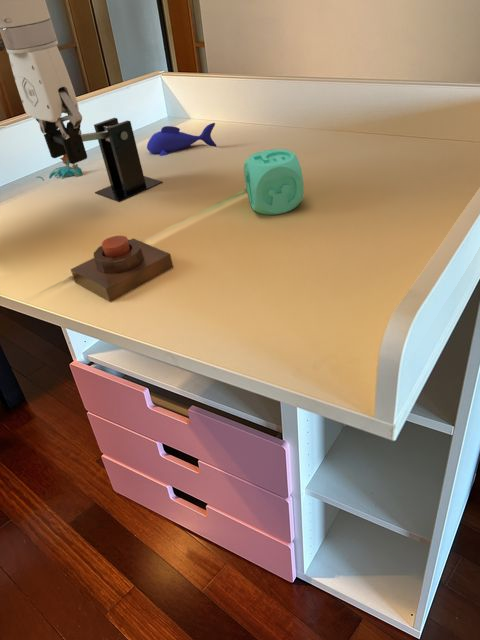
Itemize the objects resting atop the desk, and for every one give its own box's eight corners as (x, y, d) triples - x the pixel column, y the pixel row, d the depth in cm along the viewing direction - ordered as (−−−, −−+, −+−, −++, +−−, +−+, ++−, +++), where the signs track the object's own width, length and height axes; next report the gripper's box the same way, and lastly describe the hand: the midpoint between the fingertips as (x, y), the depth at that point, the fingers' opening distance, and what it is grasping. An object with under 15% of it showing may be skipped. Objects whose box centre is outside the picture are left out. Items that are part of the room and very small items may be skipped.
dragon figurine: (46, 188, 109) (77, 161, 110) (26, 167, 112) (57, 141, 113) (62, 206, 115) (92, 181, 116) (44, 186, 118) (73, 162, 119)
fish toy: (151, 169, 119) (143, 141, 113) (148, 146, 123) (140, 119, 117) (221, 157, 120) (217, 129, 114) (215, 135, 124) (211, 107, 118)
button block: (110, 302, 75) (101, 276, 73) (75, 282, 81) (66, 258, 78) (173, 267, 81) (167, 242, 79) (136, 251, 86) (130, 227, 84)
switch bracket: (120, 207, 101) (100, 134, 93) (96, 198, 105) (75, 128, 97) (164, 187, 106) (148, 117, 98) (139, 179, 111) (122, 112, 103)
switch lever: (67, 151, 91) (65, 135, 90) (52, 146, 94) (49, 131, 93) (130, 141, 99) (128, 127, 98) (114, 137, 102) (112, 123, 101)
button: (114, 261, 77) (110, 250, 76) (100, 254, 79) (96, 243, 78) (135, 250, 78) (132, 239, 77) (121, 244, 81) (117, 233, 80)
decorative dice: (247, 200, 97) (241, 154, 92) (292, 191, 98) (288, 145, 93) (257, 219, 91) (252, 170, 86) (305, 209, 92) (302, 160, 87)
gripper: (-19, 40, 86) (25, 157, 98) (34, 45, 76) (77, 175, 88) (25, 30, 90) (63, 143, 102) (81, 33, 80) (116, 158, 91)
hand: (69, 157), depth 94 cm, fingers closed on switch lever, 5 cm apart
